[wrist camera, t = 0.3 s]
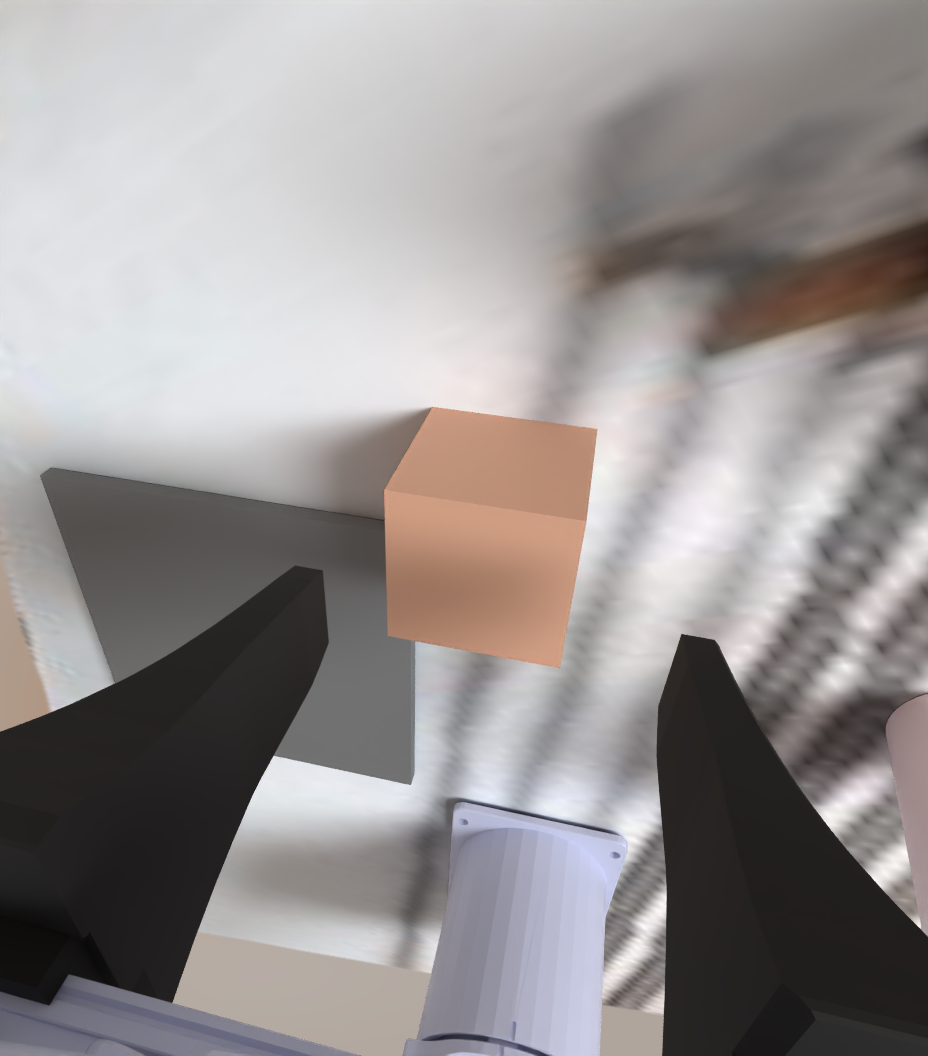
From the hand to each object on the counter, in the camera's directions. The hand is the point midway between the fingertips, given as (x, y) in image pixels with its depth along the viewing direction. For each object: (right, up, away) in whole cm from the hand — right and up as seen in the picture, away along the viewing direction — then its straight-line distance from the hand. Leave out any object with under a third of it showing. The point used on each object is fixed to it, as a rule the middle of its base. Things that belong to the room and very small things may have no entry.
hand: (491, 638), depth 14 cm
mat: (-9, -2, +15) cm, 18 cm away
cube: (+1, +4, +8) cm, 9 cm away
